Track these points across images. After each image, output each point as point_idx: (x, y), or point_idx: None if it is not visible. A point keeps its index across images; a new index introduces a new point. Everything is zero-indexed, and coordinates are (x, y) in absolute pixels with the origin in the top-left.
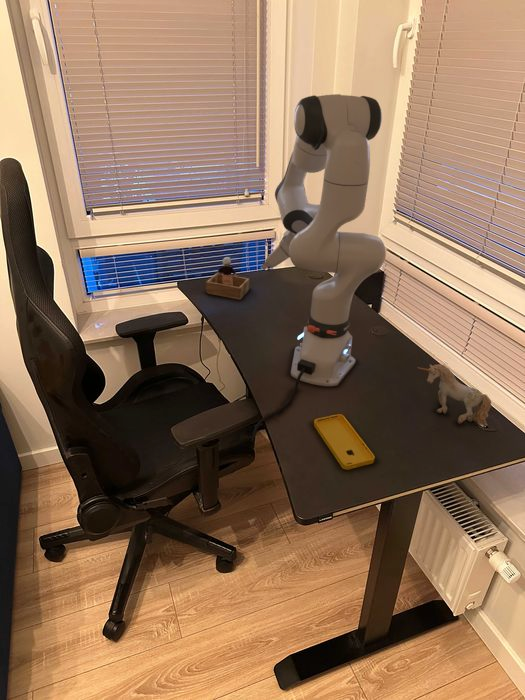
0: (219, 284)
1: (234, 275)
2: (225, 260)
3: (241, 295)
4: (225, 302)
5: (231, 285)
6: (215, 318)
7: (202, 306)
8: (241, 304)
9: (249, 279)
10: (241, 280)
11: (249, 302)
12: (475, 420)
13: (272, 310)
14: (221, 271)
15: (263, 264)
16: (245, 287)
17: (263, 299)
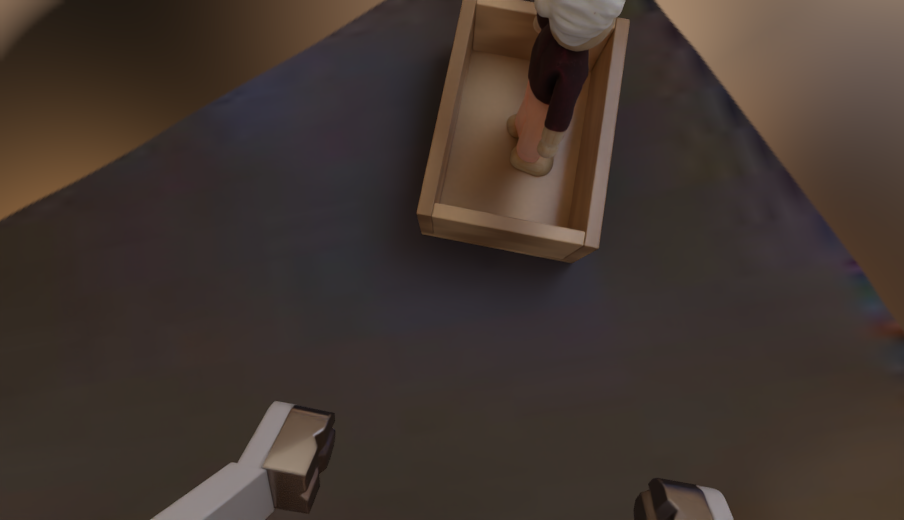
0: (447, 73)
1: (542, 135)
2: None
3: (441, 234)
4: (371, 162)
5: (523, 150)
6: (176, 150)
7: (303, 59)
8: (363, 253)
9: (593, 249)
10: (585, 197)
11: (398, 294)
12: None
13: None
14: (541, 27)
15: (251, 446)
16: (512, 241)
17: (456, 372)
